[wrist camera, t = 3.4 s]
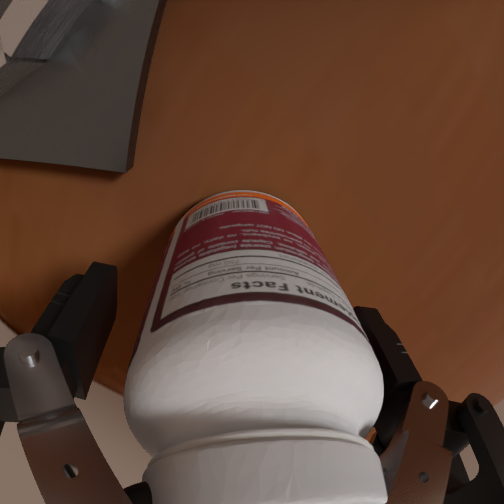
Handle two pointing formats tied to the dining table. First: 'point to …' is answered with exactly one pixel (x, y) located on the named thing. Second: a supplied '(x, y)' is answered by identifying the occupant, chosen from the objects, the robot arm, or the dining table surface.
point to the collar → (75, 79)
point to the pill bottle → (253, 366)
